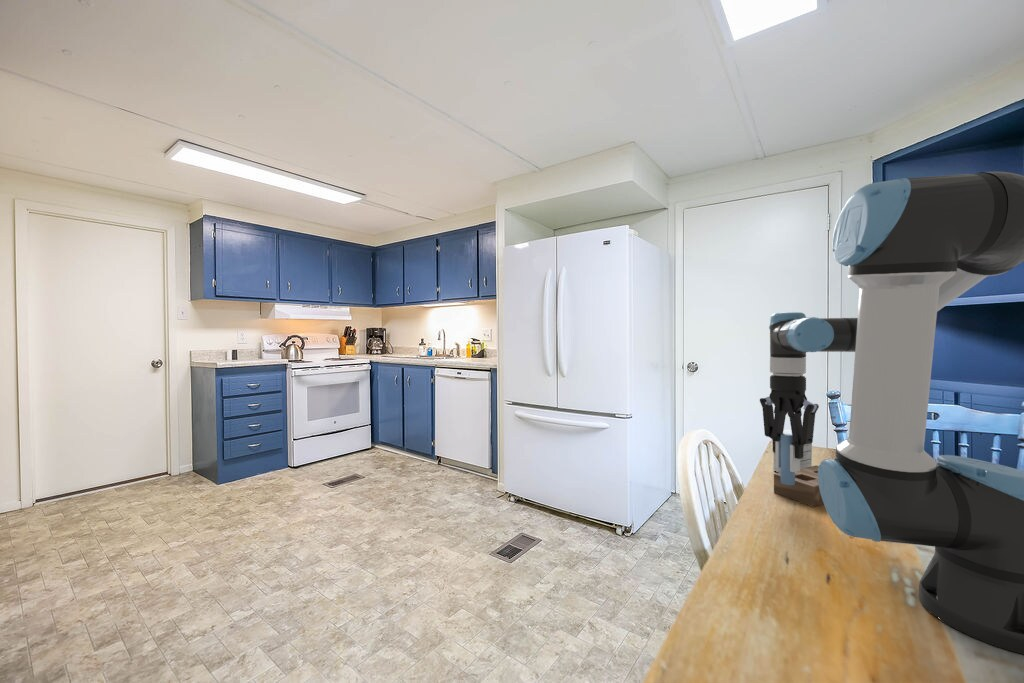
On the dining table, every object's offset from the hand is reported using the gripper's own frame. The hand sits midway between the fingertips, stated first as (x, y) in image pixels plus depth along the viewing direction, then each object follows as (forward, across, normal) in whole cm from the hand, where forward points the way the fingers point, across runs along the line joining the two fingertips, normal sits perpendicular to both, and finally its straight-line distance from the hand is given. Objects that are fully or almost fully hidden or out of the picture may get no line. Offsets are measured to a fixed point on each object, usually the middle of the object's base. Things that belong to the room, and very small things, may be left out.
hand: (787, 468), depth 104 cm
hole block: (+9, +2, -14) cm, 16 cm away
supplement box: (+8, +15, -24) cm, 30 cm away
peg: (+4, 0, 0) cm, 4 cm away
